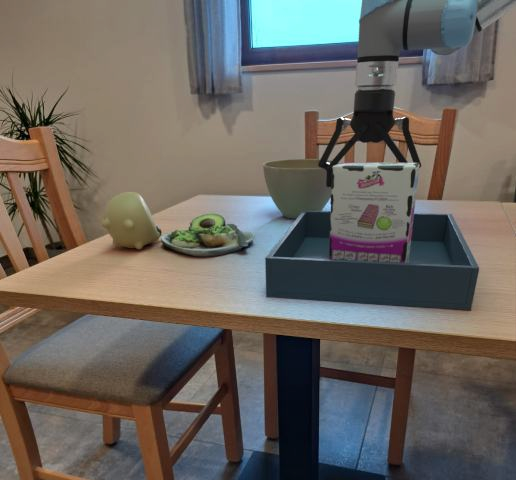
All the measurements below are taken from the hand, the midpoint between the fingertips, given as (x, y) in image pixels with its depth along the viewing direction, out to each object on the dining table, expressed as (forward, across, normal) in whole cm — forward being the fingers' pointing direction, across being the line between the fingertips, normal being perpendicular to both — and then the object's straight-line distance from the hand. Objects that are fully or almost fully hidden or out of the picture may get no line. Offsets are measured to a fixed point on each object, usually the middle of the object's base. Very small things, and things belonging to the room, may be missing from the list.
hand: (365, 204), depth 97 cm
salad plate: (+6, -30, -16) cm, 34 cm away
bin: (+5, +2, -26) cm, 27 cm away
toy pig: (+6, -44, -20) cm, 48 cm away
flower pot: (+6, -16, +12) cm, 21 cm away
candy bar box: (+5, +2, -34) cm, 34 cm away
